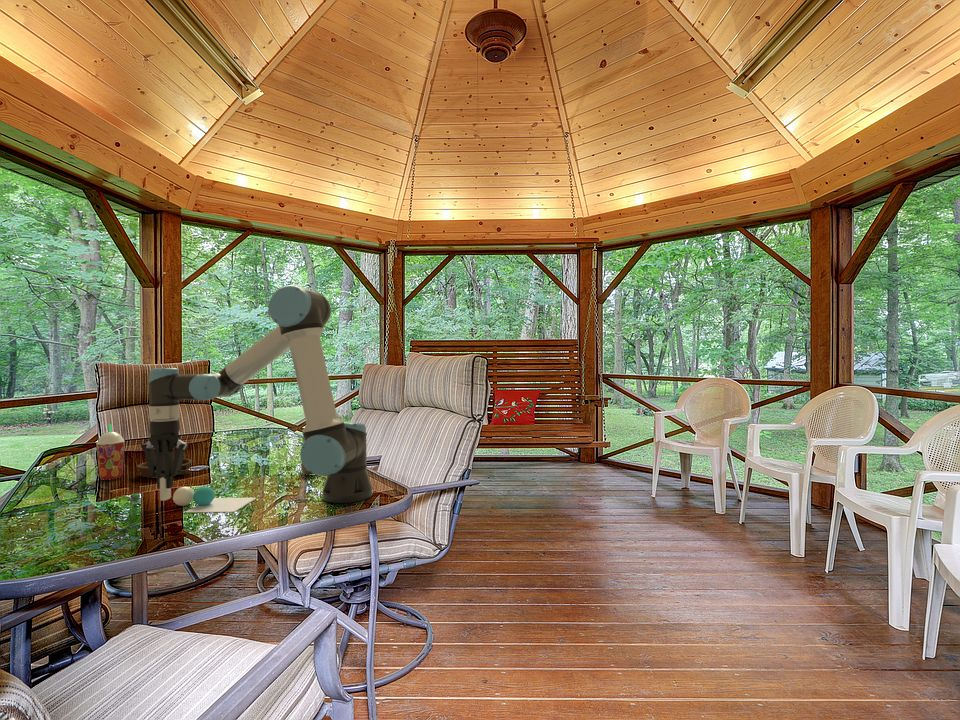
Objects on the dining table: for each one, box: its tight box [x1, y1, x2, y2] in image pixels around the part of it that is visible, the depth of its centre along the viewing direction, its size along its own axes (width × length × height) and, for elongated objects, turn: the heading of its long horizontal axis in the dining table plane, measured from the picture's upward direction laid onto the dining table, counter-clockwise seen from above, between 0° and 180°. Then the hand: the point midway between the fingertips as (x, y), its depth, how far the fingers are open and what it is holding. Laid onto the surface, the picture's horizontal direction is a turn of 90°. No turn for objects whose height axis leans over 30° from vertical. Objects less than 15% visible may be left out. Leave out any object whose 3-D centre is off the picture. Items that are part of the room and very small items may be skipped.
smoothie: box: [96, 424, 125, 480], centre depth 180 cm, size 8×8×20 cm
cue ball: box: [172, 486, 195, 507], centre depth 146 cm, size 6×6×6 cm
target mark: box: [184, 497, 258, 514], centre depth 146 cm, size 14×14×1 cm
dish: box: [136, 458, 193, 478], centre depth 186 cm, size 18×22×5 cm
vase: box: [300, 461, 313, 475], centre depth 184 cm, size 7×7×9 cm
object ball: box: [193, 485, 215, 506], centre depth 146 cm, size 6×6×6 cm
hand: (165, 499), depth 146 cm, fingers closed
